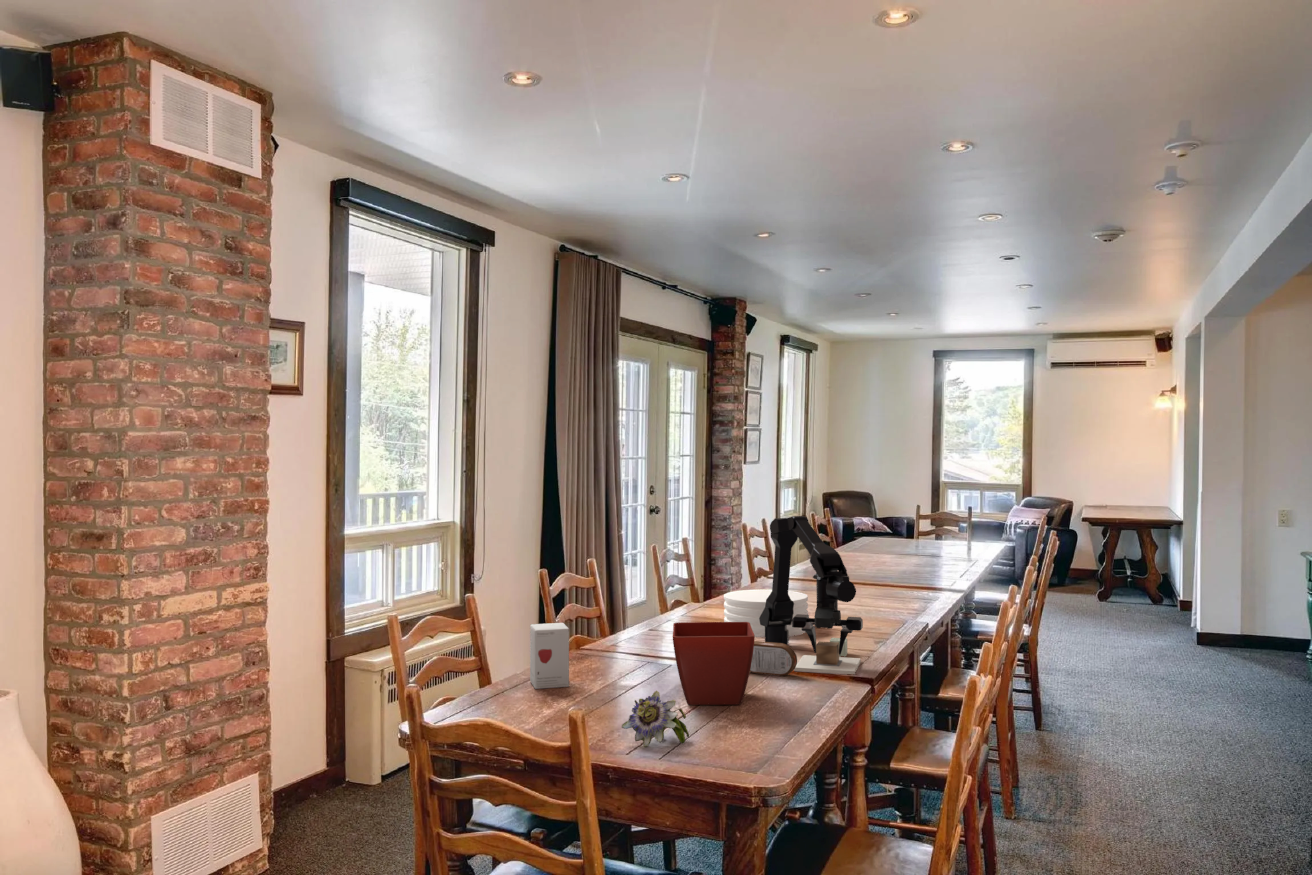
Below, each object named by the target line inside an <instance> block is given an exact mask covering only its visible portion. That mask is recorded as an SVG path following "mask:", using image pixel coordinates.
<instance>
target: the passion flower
mask: <svg viewBox="0 0 1312 875" xmlns="http://www.w3.org/2000/svg"><path fill="white" fill-rule="evenodd" d="M676 702H677V701H676V700H675V699H672V700H671V699H670V700H667V701H662V700H661V694H660V692H659V691H658V690H655V691H654V692H653V693H652V695H649V696H648V697H645V698H639V699H638V701H637V700H636V699H634V704H635V705H633V707H632V708H631V712H632V714H629V716H628V720H627V721H625V722H624V723H622V724H621V728H622V729H625V730H627V729H631V728H632V730H633V731H635V736H634V741H635V742H641V741H643V742H642V745H643V748H648V747H649V745H650V744H651V742H652V738H654V739H655V741H657V742H658V743H661V742H663V740H664V739H665V738H664V737H665V730H666V729H672V731H673V732H674V735H675V736H676V737H677V740H678V741H679V743H680V744H682V745H683V744H685V742H686V737H687V738H689V737H690V734H689V731H688V729H687V726H686V724H685V723H684V721H682V720H680V719H678V718H677V716H679V715H678V712H677V711H679V712H680V713H681V714H682V718H683V720H684V719H686V718H687V716H686V714H685V712H684V711H683V708H681V707H679V708H677V709H675V710H673V711H672V710H671V709H672V708H673V707H674V706H675V705H676V704H677V703H676ZM685 734H686V736H685Z"/></svg>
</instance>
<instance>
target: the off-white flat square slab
mask: <svg viewBox="0 0 1312 875" xmlns="http://www.w3.org/2000/svg"><path fill="white" fill-rule="evenodd" d="M860 664H861V658H858V657H847V656H846V657H841V656H839V662H838V663H837V665H831V664H816V655H810V654H807V655H806V654H803V655H802V656H801V658H800V659H799V660H798V661H797V665H796V667H795V669H794V670H793V671H794V672H802V673H818V674H830V675H831V674H834V675H847V674H854V675H853V676H856V673H857V671H856V670H858V669H859V667H860ZM855 672H856V673H855Z"/></svg>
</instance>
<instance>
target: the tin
mask: <svg viewBox="0 0 1312 875" xmlns="http://www.w3.org/2000/svg"><path fill="white" fill-rule="evenodd" d="M797 663H798V656H797V654H796V652H795V650H794V649H793V648H792V647H791V646H790V645H788V644H787V645H786V644H783V643H772V642H765V641H760V640H754V649H753V656H752V662H751V668H750V673H753V674H758V675H769V676H775V677H785V676H788V675H789V674H790V673H792V672H793V671H794V669H795V667H796V665H797Z"/></svg>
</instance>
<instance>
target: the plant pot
mask: <svg viewBox="0 0 1312 875" xmlns="http://www.w3.org/2000/svg"><path fill="white" fill-rule="evenodd" d="M672 626H673V627H672V643H673V644H672V645H673V651H674V657H675V661H676V662H675V663H676V667H677V672H678V677H679V681H680V684H681V688H682V691H683V695H684V698H685V701H686V704H687V705H691V706H693V705H698V706H699V705H701V706H702V705H703V706H704V705H709V706H710V705H712V706H713V705H715V706H716V705H741V704H742V702H743V700H744V697H745V694H746V691H747V690H746V689H747V685H748V681H749V678H750V673H751V672H750V668H751V662H752V656H753V649H754V641H755V638H756V637H755V635H754V633H753V630H752V628H751V625H750V623H749V622H724V621H697V622H696V621H695V622H694V621H693V622H692V621H691V622H688V621H687V622H684V621H683V622H673V625H672Z"/></svg>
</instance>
